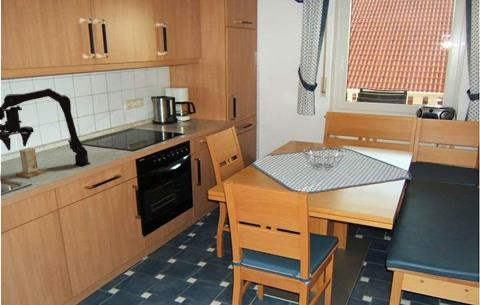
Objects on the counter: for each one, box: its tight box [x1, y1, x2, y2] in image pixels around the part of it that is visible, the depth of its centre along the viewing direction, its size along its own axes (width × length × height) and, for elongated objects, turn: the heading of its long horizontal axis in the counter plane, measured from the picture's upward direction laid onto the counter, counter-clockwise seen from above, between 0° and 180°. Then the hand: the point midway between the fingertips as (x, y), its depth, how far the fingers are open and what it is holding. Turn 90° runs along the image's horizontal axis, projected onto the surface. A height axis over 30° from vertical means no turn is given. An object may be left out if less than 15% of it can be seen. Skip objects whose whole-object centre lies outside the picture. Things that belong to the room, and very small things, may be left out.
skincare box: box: [19, 147, 39, 174], centre depth 213 cm, size 6×4×12 cm
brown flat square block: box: [15, 168, 47, 179], centre depth 215 cm, size 10×10×2 cm
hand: (17, 148), depth 214 cm, fingers open, 9 cm apart
